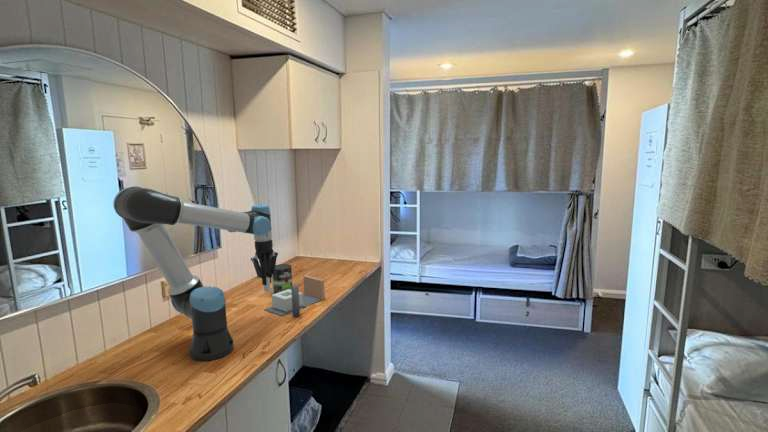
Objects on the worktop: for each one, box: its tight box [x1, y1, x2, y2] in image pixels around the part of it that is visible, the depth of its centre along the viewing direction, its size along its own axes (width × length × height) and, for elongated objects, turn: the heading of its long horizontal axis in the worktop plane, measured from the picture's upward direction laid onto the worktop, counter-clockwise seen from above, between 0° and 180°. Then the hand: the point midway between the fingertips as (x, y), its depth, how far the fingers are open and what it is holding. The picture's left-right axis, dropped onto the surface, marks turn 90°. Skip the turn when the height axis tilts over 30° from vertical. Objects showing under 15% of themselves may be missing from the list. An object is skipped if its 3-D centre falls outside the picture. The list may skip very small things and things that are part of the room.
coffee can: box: [271, 263, 293, 295], centre depth 214 cm, size 10×10×14 cm
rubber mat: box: [264, 293, 325, 317], centre depth 198 cm, size 26×13×1 cm, turn 142°
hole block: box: [271, 289, 303, 312], centre depth 193 cm, size 10×10×6 cm
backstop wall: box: [303, 274, 326, 301], centre depth 207 cm, size 2×13×10 cm, turn 52°
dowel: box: [291, 284, 301, 318], centre depth 183 cm, size 3×3×14 cm
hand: (267, 291), depth 184 cm, fingers closed
